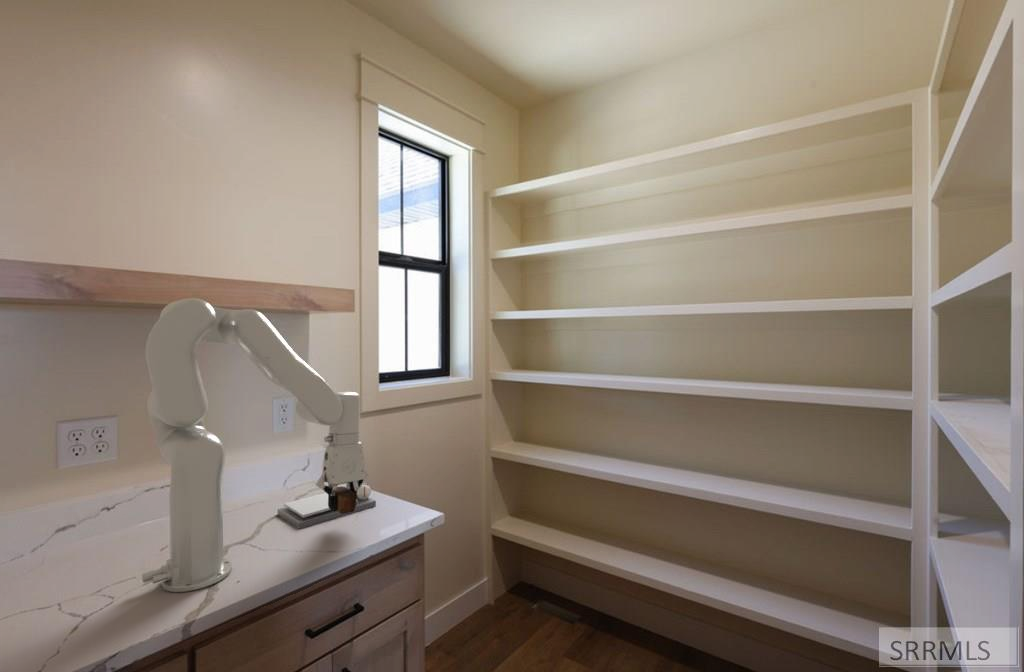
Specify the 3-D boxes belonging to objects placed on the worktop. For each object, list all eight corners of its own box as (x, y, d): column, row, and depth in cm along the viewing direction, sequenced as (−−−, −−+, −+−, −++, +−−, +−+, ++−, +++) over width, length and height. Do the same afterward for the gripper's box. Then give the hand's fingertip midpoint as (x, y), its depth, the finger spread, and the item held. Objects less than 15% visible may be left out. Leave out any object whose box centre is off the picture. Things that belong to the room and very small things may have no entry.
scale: (299, 528, 127) (298, 506, 127) (277, 514, 138) (277, 493, 138) (376, 505, 144) (376, 485, 144) (352, 494, 155) (351, 475, 155)
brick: (356, 511, 124) (356, 493, 124) (340, 514, 121) (341, 496, 121) (343, 501, 132) (343, 484, 132) (328, 503, 130) (328, 486, 130)
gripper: (319, 445, 118) (317, 519, 118) (379, 436, 130) (378, 503, 130) (306, 440, 123) (304, 511, 123) (365, 432, 135) (364, 497, 135)
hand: (342, 506), depth 126 cm, fingers closed on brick, 4 cm apart
